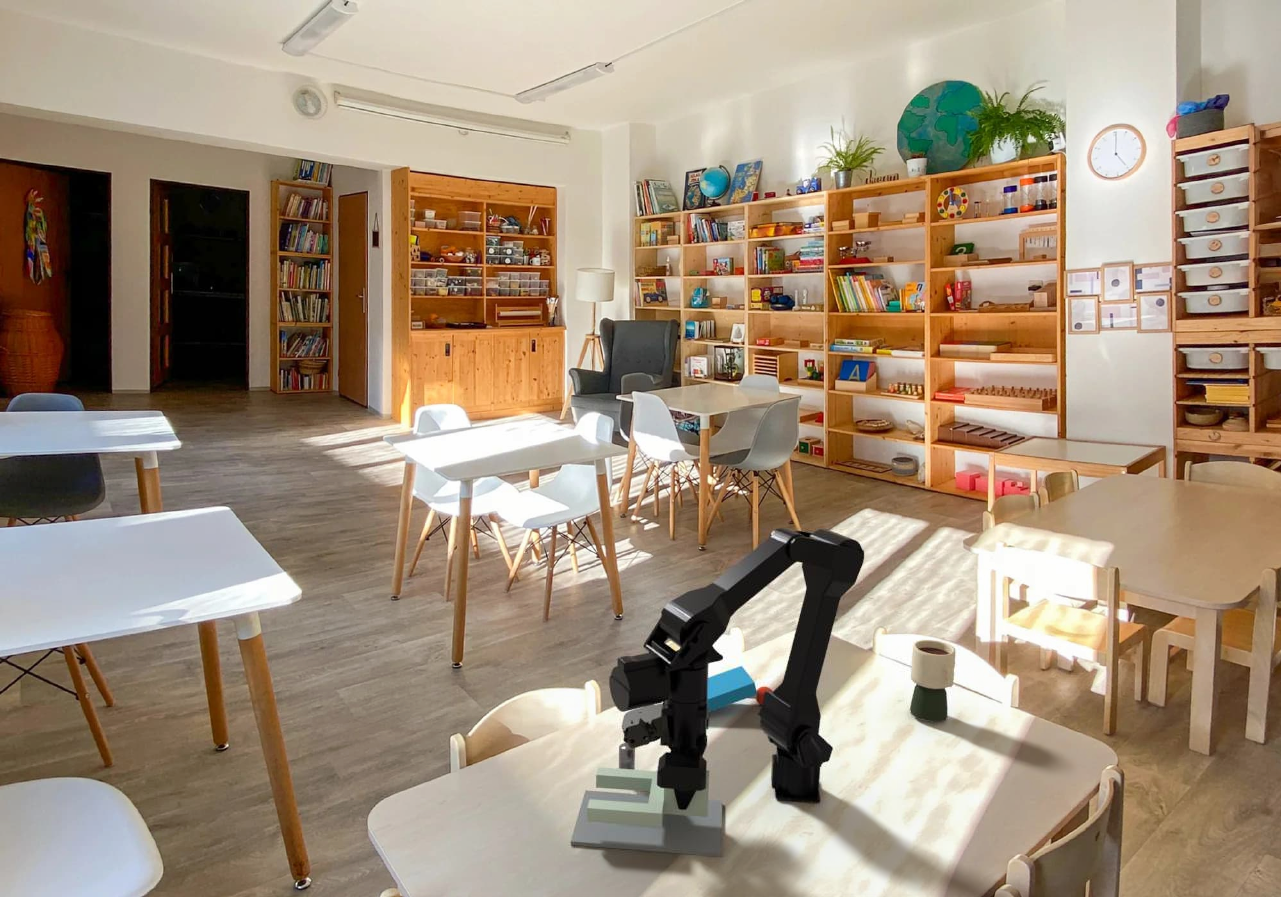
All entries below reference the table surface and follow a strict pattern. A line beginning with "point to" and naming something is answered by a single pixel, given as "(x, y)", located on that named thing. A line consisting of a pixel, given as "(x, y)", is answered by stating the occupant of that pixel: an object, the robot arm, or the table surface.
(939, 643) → the cream and green cup
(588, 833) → the mat
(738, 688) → the lever
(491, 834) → the table surface
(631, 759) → the grey metal rod
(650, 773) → the c link
